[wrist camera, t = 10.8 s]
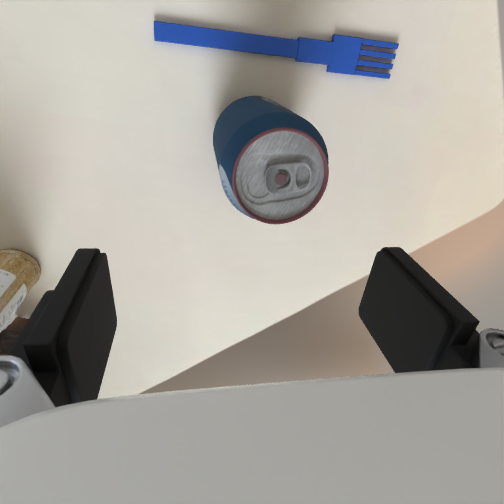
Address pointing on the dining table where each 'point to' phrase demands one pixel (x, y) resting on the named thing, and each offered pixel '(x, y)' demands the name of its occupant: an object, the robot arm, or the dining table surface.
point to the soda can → (269, 160)
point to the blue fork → (283, 47)
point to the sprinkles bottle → (15, 281)
